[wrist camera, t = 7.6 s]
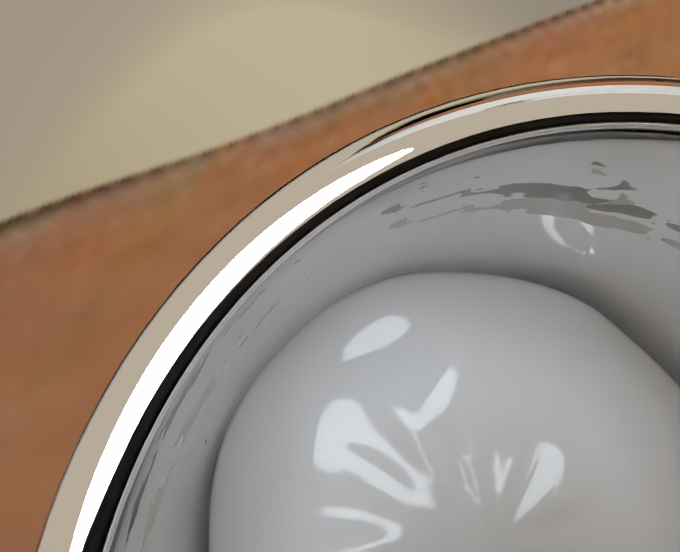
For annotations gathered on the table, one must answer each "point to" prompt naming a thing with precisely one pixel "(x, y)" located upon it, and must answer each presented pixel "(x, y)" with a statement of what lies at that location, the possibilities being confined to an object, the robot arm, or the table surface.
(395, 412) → the silver metal cup
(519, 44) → the table surface
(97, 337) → the table surface
